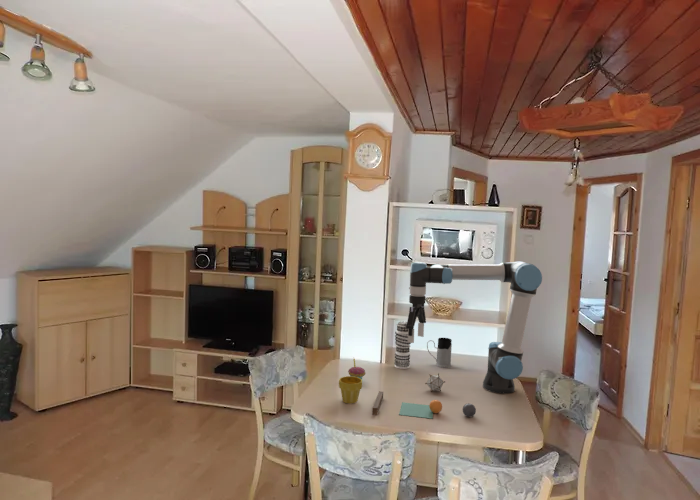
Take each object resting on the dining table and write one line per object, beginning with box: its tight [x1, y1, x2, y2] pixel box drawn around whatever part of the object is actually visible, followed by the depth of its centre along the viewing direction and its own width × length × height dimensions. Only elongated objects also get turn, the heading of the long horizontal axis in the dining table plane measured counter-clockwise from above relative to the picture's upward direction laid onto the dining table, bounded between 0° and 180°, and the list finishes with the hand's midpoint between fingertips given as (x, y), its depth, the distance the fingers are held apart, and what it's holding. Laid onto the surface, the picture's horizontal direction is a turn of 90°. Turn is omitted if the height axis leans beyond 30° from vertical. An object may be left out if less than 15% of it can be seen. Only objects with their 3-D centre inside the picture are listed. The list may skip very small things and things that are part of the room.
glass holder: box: [426, 337, 453, 369], centre depth 279 cm, size 9×14×15 cm, turn 80°
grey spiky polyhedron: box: [424, 373, 446, 393], centre depth 237 cm, size 9×8×10 cm
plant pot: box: [338, 375, 363, 405], centre depth 220 cm, size 10×10×10 cm
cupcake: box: [347, 358, 366, 380], centre depth 246 cm, size 9×8×12 cm
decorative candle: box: [394, 320, 412, 370], centre depth 272 cm, size 9×9×25 cm
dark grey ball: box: [462, 402, 477, 418], centre depth 208 cm, size 6×6×6 cm
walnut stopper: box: [371, 390, 384, 416], centre depth 215 cm, size 2×20×3 cm, turn 169°
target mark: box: [398, 401, 434, 420], centre depth 212 cm, size 14×14×1 cm
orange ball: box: [428, 399, 443, 414], centre depth 210 cm, size 6×6×6 cm
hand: (415, 339), depth 232 cm, fingers open, 13 cm apart
